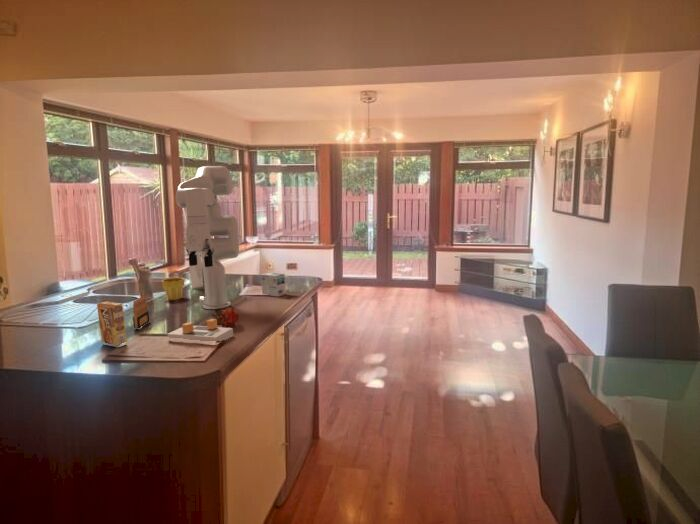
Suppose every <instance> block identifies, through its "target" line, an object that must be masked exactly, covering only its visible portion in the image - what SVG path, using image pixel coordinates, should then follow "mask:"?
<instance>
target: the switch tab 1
mask: <svg viewBox="0 0 700 524" xmlns="http://www.w3.org/2000/svg"><path fill="white" fill-rule="evenodd" d="M193 326H194V323H193V322H189V321H188V322H185V323H182V325H181V327H182V329H183V333H190V332H192V331H194V329H193Z"/></svg>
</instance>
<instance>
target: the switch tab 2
mask: <svg viewBox="0 0 700 524" xmlns="http://www.w3.org/2000/svg"><path fill="white" fill-rule="evenodd" d="M205 321H206V326H207V329H214V328H216V327H218V325H217V319H215V318H210V319H208V320H205Z"/></svg>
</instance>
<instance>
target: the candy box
mask: <svg viewBox="0 0 700 524" xmlns="http://www.w3.org/2000/svg"><path fill="white" fill-rule="evenodd" d="M96 307H97V308H96V309H97V314H98V322H99V329H100V330H99V331H100V336H101V337H100V338H101V343H102V342H105V343H108V344H113V345H119V344H122V343H124V342H127V343H128V340H127V333H126V325H125V317H124V308H123V303H121V302H111V301H104V302H99V303H97V304H96Z"/></svg>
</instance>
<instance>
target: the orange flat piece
mask: <svg viewBox="0 0 700 524" xmlns="http://www.w3.org/2000/svg"><path fill="white" fill-rule="evenodd" d="M132 310H133V311H132V312H133V318H132V319H133V329H134V328H140V327H141V326H143V325H144V324H146V323H148V322H149V321H150V314H149V310H148V304H147V298H146V296H145V295H144V294H143V295H141V296H140V297H138V298H137V299H135V300H133V309H132Z"/></svg>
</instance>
